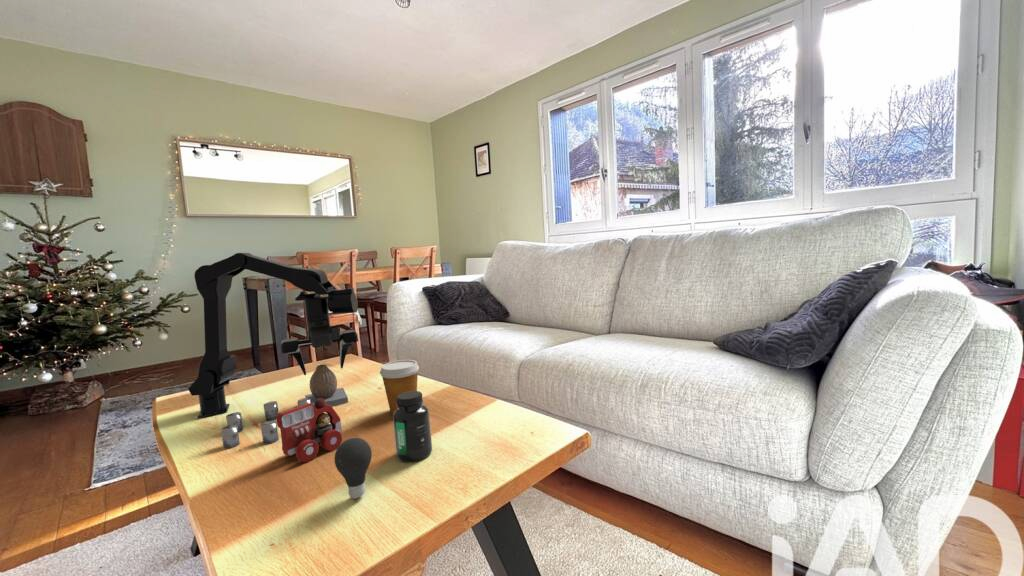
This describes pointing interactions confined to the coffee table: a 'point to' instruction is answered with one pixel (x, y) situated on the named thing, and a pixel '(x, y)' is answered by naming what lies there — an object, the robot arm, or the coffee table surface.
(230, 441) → the spacer posts
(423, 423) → the supplement bottle
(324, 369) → the brown textured oval
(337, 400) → the mat
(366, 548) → the coffee table surface
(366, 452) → the light bulb
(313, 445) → the toy fire truck
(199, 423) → the coffee table surface
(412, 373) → the disposable coffee cup
